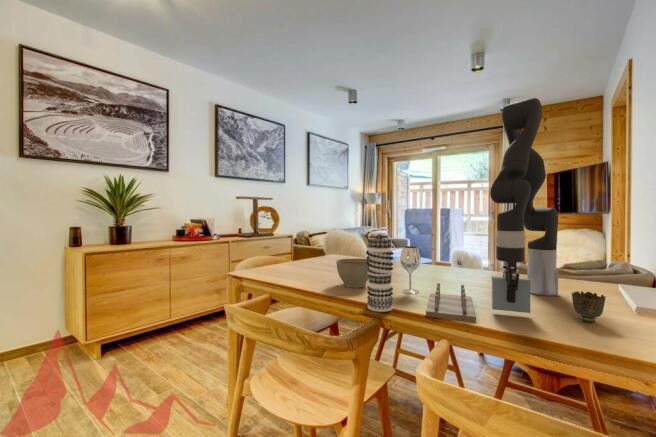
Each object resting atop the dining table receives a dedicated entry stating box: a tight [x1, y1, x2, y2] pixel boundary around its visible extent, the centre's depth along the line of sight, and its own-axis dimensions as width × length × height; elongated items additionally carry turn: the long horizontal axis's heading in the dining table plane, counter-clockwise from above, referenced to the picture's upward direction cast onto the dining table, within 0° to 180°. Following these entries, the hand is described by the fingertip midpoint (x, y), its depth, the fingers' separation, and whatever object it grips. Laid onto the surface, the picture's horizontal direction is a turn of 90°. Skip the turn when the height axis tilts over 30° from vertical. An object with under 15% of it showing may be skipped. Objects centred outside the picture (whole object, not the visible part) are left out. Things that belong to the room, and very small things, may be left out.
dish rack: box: [425, 282, 477, 323], centre depth 100 cm, size 22×14×6 cm, turn 158°
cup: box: [571, 290, 607, 324], centre depth 87 cm, size 8×7×8 cm
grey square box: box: [491, 275, 531, 314], centre depth 93 cm, size 2×10×10 cm, turn 68°
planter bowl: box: [335, 258, 369, 289], centre depth 132 cm, size 16×16×11 cm
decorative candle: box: [365, 232, 395, 313], centre depth 101 cm, size 9×9×25 cm
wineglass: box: [399, 245, 422, 295], centre depth 121 cm, size 8×8×18 cm
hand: (510, 300), depth 93 cm, fingers closed on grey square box, 2 cm apart
